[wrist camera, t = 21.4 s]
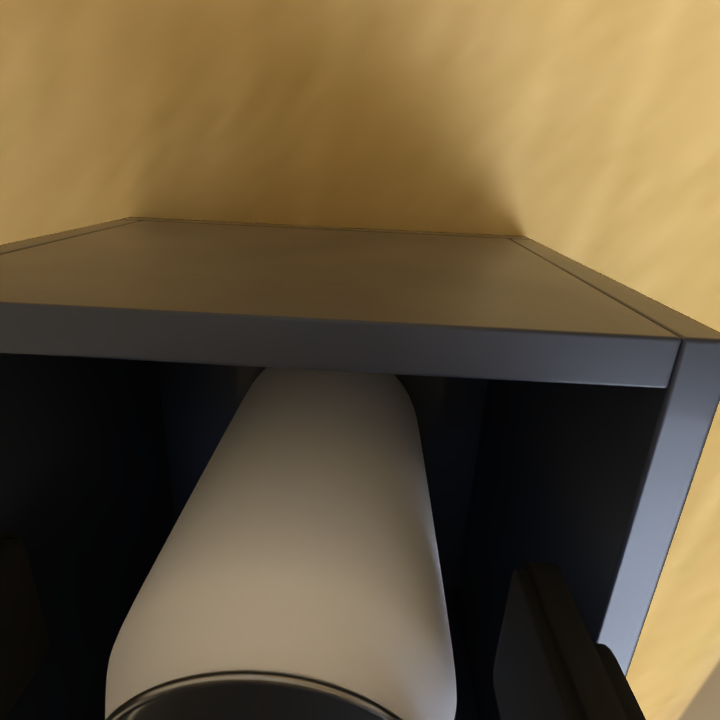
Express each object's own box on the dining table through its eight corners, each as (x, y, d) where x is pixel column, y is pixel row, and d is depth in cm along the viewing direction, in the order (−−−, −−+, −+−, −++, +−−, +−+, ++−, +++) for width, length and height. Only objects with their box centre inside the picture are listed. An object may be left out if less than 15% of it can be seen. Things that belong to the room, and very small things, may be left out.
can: (437, 467, 19) (519, 881, 8) (285, 510, 20) (177, 931, 9) (383, 316, 17) (397, 608, 6) (214, 373, 18) (-35, 712, 7)
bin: (129, 216, 17) (-222, 291, 7) (527, 236, 17) (742, 341, 7) (171, 570, 23) (9, 888, 13) (470, 588, 23) (543, 926, 13)
